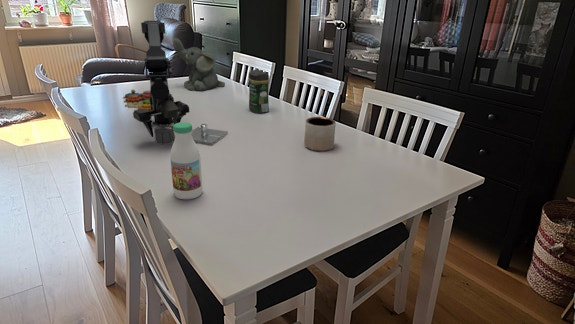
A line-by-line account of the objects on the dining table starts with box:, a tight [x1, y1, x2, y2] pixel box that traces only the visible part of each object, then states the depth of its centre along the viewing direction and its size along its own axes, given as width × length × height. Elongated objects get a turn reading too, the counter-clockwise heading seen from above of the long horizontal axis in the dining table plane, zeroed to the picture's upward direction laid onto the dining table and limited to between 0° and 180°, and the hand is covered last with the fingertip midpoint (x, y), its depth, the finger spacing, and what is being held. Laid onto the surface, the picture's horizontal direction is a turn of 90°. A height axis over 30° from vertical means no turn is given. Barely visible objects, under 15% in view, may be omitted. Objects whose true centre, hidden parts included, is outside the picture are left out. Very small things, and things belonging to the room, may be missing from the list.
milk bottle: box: [169, 121, 203, 200], centre depth 102 cm, size 8×8×20 cm
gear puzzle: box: [122, 89, 151, 111], centre depth 183 cm, size 31×16×4 cm, turn 24°
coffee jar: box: [248, 69, 270, 114], centre depth 174 cm, size 10×8×19 cm
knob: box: [153, 124, 175, 145], centre depth 140 cm, size 7×7×5 cm
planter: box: [303, 116, 337, 152], centre depth 139 cm, size 11×11×10 cm
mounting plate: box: [192, 123, 229, 146], centre depth 144 cm, size 13×13×5 cm
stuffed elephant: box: [172, 37, 226, 92], centre depth 208 cm, size 19×21×27 cm
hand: (164, 134), depth 140 cm, fingers open, 9 cm apart
